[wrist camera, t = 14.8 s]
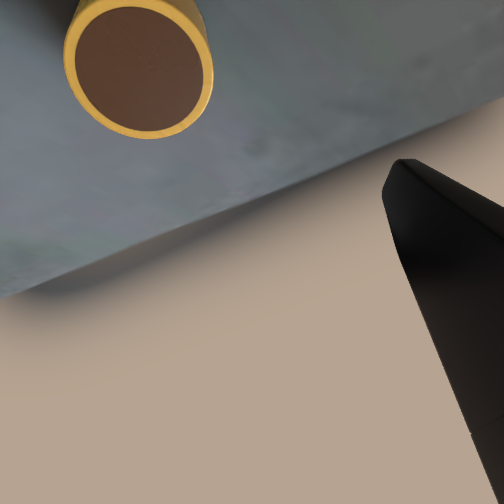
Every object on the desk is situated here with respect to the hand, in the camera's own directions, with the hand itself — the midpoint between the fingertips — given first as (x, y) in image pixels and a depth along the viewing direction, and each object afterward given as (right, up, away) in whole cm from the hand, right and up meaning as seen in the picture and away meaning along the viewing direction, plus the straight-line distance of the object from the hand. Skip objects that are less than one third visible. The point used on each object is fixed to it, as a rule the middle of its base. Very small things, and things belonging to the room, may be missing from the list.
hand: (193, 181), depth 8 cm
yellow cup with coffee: (-3, +8, +9) cm, 12 cm away
